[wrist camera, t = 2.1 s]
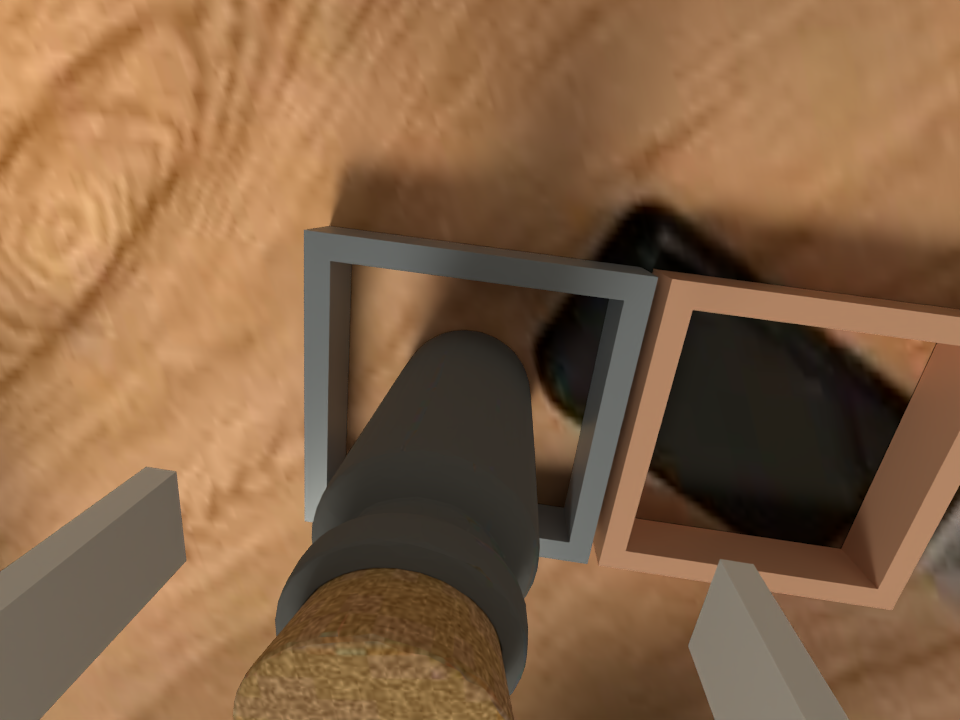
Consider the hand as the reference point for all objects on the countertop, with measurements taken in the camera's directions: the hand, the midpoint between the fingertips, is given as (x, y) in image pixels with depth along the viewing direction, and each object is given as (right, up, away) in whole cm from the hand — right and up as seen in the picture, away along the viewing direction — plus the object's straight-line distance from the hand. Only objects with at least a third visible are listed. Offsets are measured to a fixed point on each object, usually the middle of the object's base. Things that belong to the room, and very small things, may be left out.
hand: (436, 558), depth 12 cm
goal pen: (+14, +2, +10) cm, 17 cm away
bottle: (+1, +4, +10) cm, 11 cm away
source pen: (0, +3, +10) cm, 11 cm away
